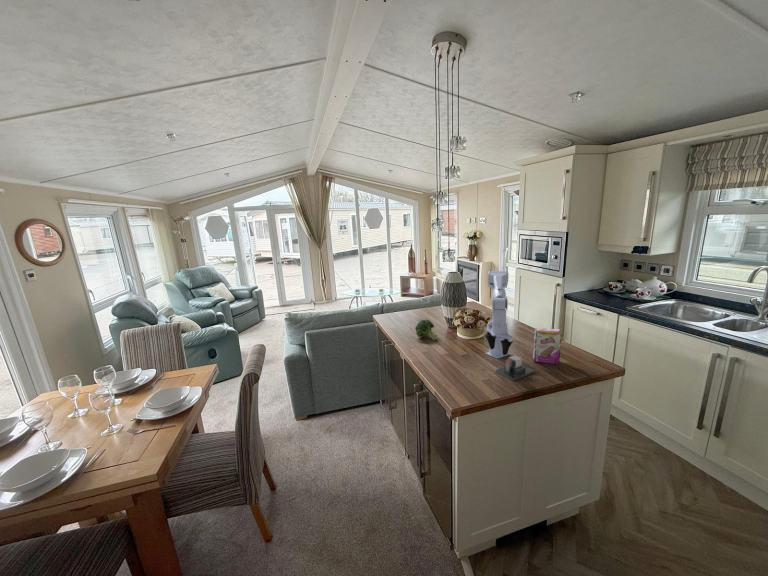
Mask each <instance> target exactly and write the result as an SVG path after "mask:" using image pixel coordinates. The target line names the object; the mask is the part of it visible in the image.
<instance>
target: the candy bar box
mask: <svg viewBox="0 0 768 576" xmlns="http://www.w3.org/2000/svg"><path fill="white" fill-rule="evenodd" d="M562 335H563V334H562V331H561V329H557V328H545V327H544V328H543V327H535V328H534V340H533V351H532V352H533V353H532V359H533V362H534V363H541V364H542V363H543V364H553V365H560V356H561V347H562V346H561V345H562Z"/></svg>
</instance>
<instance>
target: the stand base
mask: <svg viewBox="0 0 768 576" xmlns="http://www.w3.org/2000/svg"><path fill="white" fill-rule="evenodd" d="M508 359H509V358H507V359H505V365H504V366H503V367H500V368H498V369H495V373H496V374H498V375H501V376H503V377H505V378H507V379H509V380H510V381H512V382H514V381H517V380H519V379H522V378H524V377H526V376H527V377H528V376H529V375H532V374H534V373H535V369H533V368H530V367H528V366H525V365H523V364H522V367H521V368H519V369H513V368H511V362H512V361H511V360H508Z"/></svg>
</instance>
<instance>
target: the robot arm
mask: <svg viewBox="0 0 768 576" xmlns="http://www.w3.org/2000/svg"><path fill="white" fill-rule="evenodd" d="M508 283H509V271H508V270H488V271H487V285H488V287H489V288H491V289H492V299H491V313H492V314H491V315H492V319H491V320H489V321H488V323H487V326H486V327H487V328H485V333H486V334H485V335H484V337H485V338H486V340H487V342H488V345H489V349H488V350H489V351H487V352H485V355H488V356H490V357H493V358H495V359H501V358H503V357H506V356H509V355H510V354H511V353H510V352H509V349H510V348H511V345H513V342H514V336H512V335H510V333H508V332H509V331H508V324H507V311H508V305H509V303H508V302H509V301H508V297H507V295H506V294H507V293H506V289H505V288H507V286H508Z"/></svg>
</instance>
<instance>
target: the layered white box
mask: <svg viewBox="0 0 768 576" xmlns="http://www.w3.org/2000/svg"><path fill="white" fill-rule="evenodd" d="M507 359H508V360H511V361H512V362H511V368H513V369H519V368H521V367H522V365H523V358H522V357H519V356H517V355H512V356H509V357H508V358H507Z"/></svg>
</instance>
